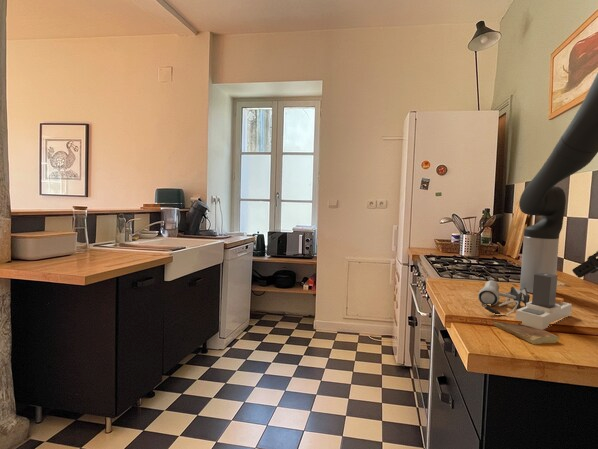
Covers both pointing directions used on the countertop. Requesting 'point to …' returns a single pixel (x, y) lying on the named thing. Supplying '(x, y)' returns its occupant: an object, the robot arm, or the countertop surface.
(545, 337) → the shard
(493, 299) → the clip-on lamp
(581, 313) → the countertop surface
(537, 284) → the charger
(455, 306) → the countertop surface
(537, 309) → the power strip
